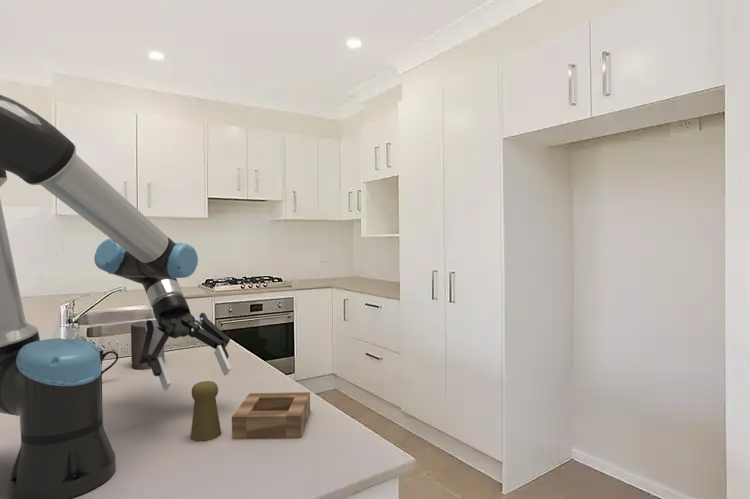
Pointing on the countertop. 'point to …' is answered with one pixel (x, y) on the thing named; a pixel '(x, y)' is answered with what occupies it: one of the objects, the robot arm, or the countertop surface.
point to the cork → (205, 412)
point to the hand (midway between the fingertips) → (199, 379)
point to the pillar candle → (137, 344)
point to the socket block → (271, 415)
